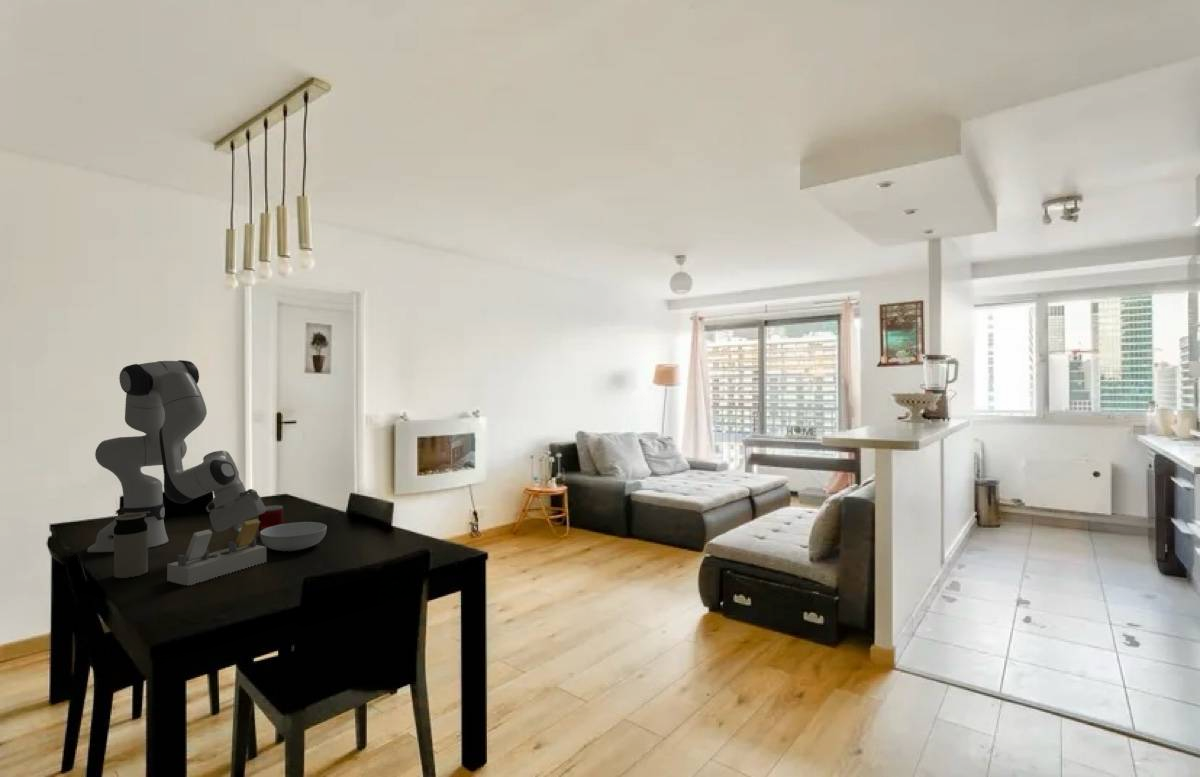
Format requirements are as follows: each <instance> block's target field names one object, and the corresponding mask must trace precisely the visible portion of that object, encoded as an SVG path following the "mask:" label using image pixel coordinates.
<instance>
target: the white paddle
mask: <svg viewBox="0 0 1200 777" xmlns="http://www.w3.org/2000/svg"><path fill="white" fill-rule="evenodd" d="M212 535H213V532H212V530H211V529H206V530H205V529H204V530H201V531H197V532H193V535H192V537H191V540H190V542H189V545H188V548H187V550H186V554H185V556H187V562H188V561H192V560H196V559H199V558H203V557H204V554H205V552H206V549H207V550H208V547H209V544H210V541H211V539H212Z"/></svg>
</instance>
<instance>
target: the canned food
mask: <svg viewBox="0 0 1200 777" xmlns="http://www.w3.org/2000/svg"><path fill="white" fill-rule="evenodd" d="M264 506H265V505H264ZM265 508H266V510H265V513H263V514H260V515H258V520H259V521H260V524H259V527H258V537H259V538H260V531H262V530H263V529H265V528H268V527H272V526H276V525H280V524H284V506H283V505H278V504H274V505H266V506H265Z"/></svg>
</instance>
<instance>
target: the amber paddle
mask: <svg viewBox="0 0 1200 777" xmlns="http://www.w3.org/2000/svg"><path fill="white" fill-rule="evenodd" d="M259 524H260V521H259V518H255V519H249V521H245V522H244V523H243V525H242V526H241V527H242V528H241V530H240V532H238V535H237V537H236V541H235V542H236V543H237V548H240V547H244V546H248V545H251V543H252V541H253V539H254V537H255V536H256V534H257V532H258V530H259Z"/></svg>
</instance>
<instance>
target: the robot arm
mask: <svg viewBox="0 0 1200 777" xmlns="http://www.w3.org/2000/svg"><path fill="white" fill-rule="evenodd" d="M197 367H198V366H196V365H195V363H193V362H192V361H189V360H179V359H178V360H159V361H153V362H152V361H151V362H146V363H145V362H144V363H139V364H138V363H134V364H130V365H126V366H124V367H123V368H122V369H121V371H120V372H119V384H120V387H121V389H122V391H123V392H125V393H126V394H125V404H124V405H125V408H124V421H125V424H126V425H127V426H128V427H130V428H131V429H134V430H136V431H138V432H142V433H144V434H145V435H138V436H137V435H135V436H122V437H120V436H119V437H114V438H109V439H105V440H102V441H101V442H100V443H99V444H98V445H97V447H96V449H95V454H94V455H95V460H96V462H97V463H98V464H99V465H100V466H101V467H102V468H104V469H106V470H108V471H110V472H111V473H112V474H114V476H116V478H117V479H118V480H119V482H120V485H121V488H122V496H123V506H122V507H120V508H118V509H117V510H115V511H114V512H115V513H114V514H115V515H117V516H120V515H124V514H132V513H145V514H146V516H145V522H146V523H147V536H148V549H149V548H154V547H158V546H160V545H164V544H167V543H168V542H169V538H168V534H167V531H166V527H165V522H164V519H165V514H166V513H165V510H166V509H165V503H164V498H163V497H164V496H166V498H167V499H168V500H169V501H172V502H174V503H177V504H182V505H183V504H184V505H185V504H187V503H189V502H191V501H193V500H195V499H197V498H199V497H203V496H205V495H207V494H209V493H212V492H213V496H214V498H213V499H212V500H211V501H210V502H209V503H208V504H207V505H206V507H205V510H206V512H207V513H209V519H210V522H211V525H212V527H213V530H215V531H216V533H221V532H222V531H225V530H228V529H231V528H232V527H233V528H234V530H235V531H236V532H237V533H239V532H240V530H241V528H242V525H243V523H244V522H245V521H249V520H252V519H253V518H255V517H259V515H260V514H263V513H265V510H266V508H265V504H264V502H263V500H262V498H261V497H260V495H259V494H258V492H257V490H255V489H253V488H249V489H247V490H246V488H245V486H244V483H243V482H242V481H241V478H240V475H239V470H238V467H237V465H236V463H235V461H234V459H233V457H232V456H231V454H230V453H229V452H228V451H226V450H217V451H212V452H209V453H207V454H205V455H204V456H203V457H202V461H203V462H201V463H199V464H197V465H195V466H193V467H190V468H187V469H186V470H184V466H183V459H184V457H185V456H186V453H187V451H188V450H187V449H188V447H187V443H186V441H185V439H186V438H187V437H188V436H189V435H190V434H191V433H192V432H194V431H195V430H196V429H197V428H199V427H200V426H201V425H202V424H203V422H204V420H205V419H206V417H207V406H206V402H205V399H204V397H203V394H202V392H201V390H200V387H199V386H198V383H199V380H200V373H199V372H200V371H199V369H198V368H197ZM153 466H162V469H163V482H162V480H161V479H159V478H157V477H155V476H153V475H148V474H145V473H143V472H142V468H143V467H153ZM163 491H164V494H165V495H164V496H163ZM116 524H117V523H116V520H115V519H114V520H112V521H111V522H110V523H108V524H107V525H106V526H104V527H103V528H102V529H100V530H99V532H98V533H97V536H96V539H95V543H93V544H92V545H89V547H88V548H87V551H86V552H87V553H114V527H115V526H116Z"/></svg>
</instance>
